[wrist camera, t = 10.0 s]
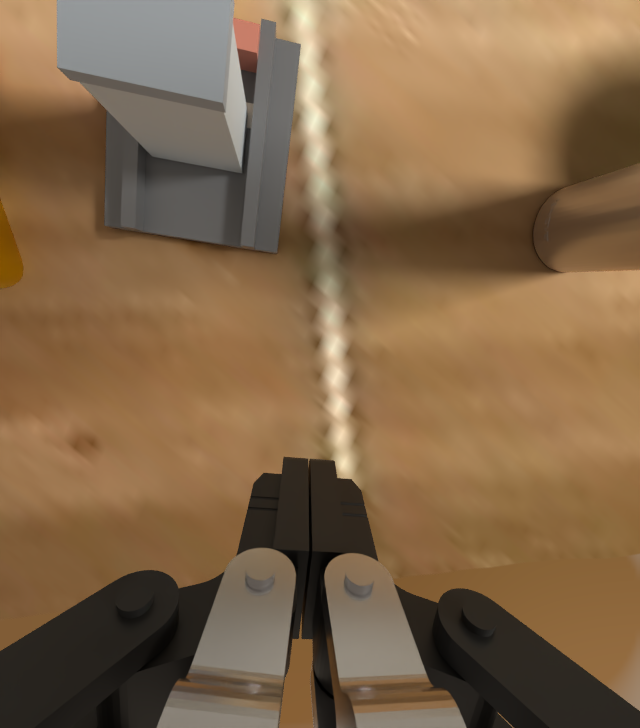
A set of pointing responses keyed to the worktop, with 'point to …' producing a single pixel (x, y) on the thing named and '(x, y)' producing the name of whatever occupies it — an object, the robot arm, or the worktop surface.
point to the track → (209, 185)
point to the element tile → (8, 254)
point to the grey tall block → (161, 73)
